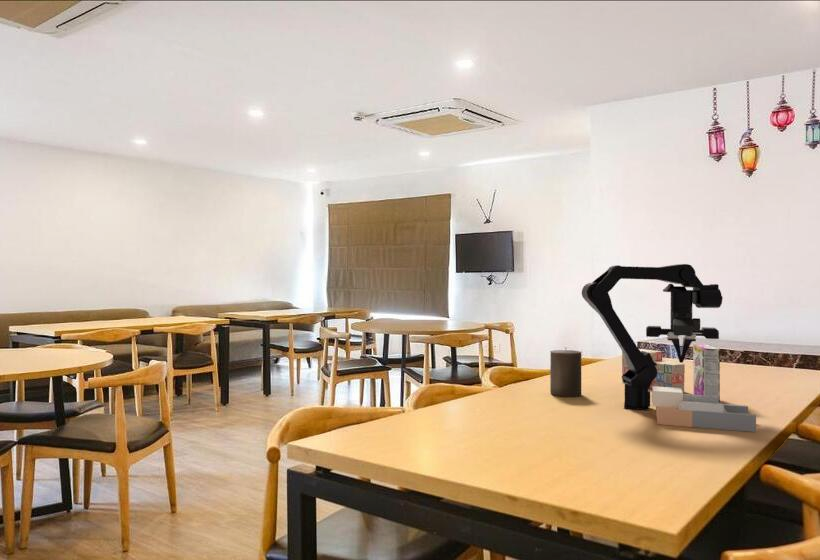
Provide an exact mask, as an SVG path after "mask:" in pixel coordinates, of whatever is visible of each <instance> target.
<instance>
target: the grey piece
mask: <svg viewBox="0 0 820 560" xmlns="http://www.w3.org/2000/svg"><path fill="white" fill-rule="evenodd" d="M722 404H723V405H724V413H717V412H703V411H689V410H679V408H670V407H656V406H655V416H656V417H655V418H656V422H657V425H661V424H662V425H666V426H676V427H687V428H700V429H701V428H702V429H710V430H711V429H713V430H727V431H737V432H753V433H756V432H757V415H756V414H754V413H749V406H748V405H745V404H743V405H742V404H731V403H730V404H729V403H722Z"/></svg>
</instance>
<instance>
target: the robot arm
mask: <svg viewBox="0 0 820 560" xmlns="http://www.w3.org/2000/svg"><path fill="white" fill-rule="evenodd" d="M621 279H624V280H650V281H652V280H657V281H661V282H664V283H669V284H667V286H666V287H664V288H663V289H662V291H663V292H664V293H670V328H662V327H661V325H647V326H646V329H645V332H646V333H645V336H646V337H647V338H649V337H650V338H659V337H660V336H667V337H666V338H667V341H670V342H672V344H673V346H674V349H675V352H676V356H677V358H678V363H682V364H684V361H685V357H686V355H687V352H688V350H689V348H690V346H691V344H692V343H693V342H697V339H696V337H704V338H705V339H706V340H720V331H719V330H718V328H716V327H706V326H705V327H704V326H703V327H701V318H700V317H699V318H695V317H694V318H693V305H694V306H695V307H696V308H698V309H719V308H721V306H722V304H723V295H722V292H721V289H720V288H719V284H718V283H717V284H716V283H713V284H712V283H710V284H703V282H702V281H701V280H700V279H699V277H697V275H696V271H695V268H694V267H693V266H692V265H691V264H688V263H680V264H677V263H676V264H672V265H671V264H670V265H665V266H663V265H662V266H656V267H655V266H629V265H628V266H625V265H624V266H623V265H622V266H621V265H611V266H610V267H608V269H606V271H604V272H603V273H601V275H599V276H598V277H597V278H596V279H594V280H593V281H592V282H587V283H585V284H584V286H583V287H582V288H581V296H582V299H584V301H586V303H587V304H588V305H589V307H591V309H593V310H594V311H595V312H596V313H597V314H598V315H599V316H600V318H601V320H602V321H603V323H604V324H605V326H606V328H607V329H608V331H609V332H610V334H611V336H612V337H613V339H614V340H615V342H616V344H617V345H618V347H619V349H620V350H621V352H622V351H623V353H624V355H625V359H626V363H627V366H628V368H629V370H628V371H627V372H626V373H625V374H621V380H623V383H622V384H624V402H623V408H624V409H628V410H629V409H631V410H632V409H633V410H644V411H645V410H649V408H650V407H651V391H650V390H649V388H650V385H651V383H652V381H653V380H654V379H655V378H656V376H657V373H658V372H657V368H656V367H655V366H657V364H656V363H655V362H654V361H653V359H652V357H651V355H650V353H648V352H645V351H640V350H639V349H640V348H639V347H638V346H637V345H636V343H635V341H634V340H633V338H632V336H631V335H630V333H629V331H628V330H627V328H626V327H625V326H624V324H623V322H622V320H621V319H620V317H619V316H618V314H617V313H616V311H615V310H614V308H613V304H612V299H611V296H610V294H609V292H610V291H611V290H612V289H613V288H614V287H615V286H616V285H617V283H618V282H619V281H620V280H621ZM676 285H677V286H676ZM678 285H680V286H678ZM687 288H691V289H687ZM679 336H683V338H682V339H683V340H682V346H680V345H681V344H680V338H679Z"/></svg>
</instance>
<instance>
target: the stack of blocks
mask: <svg viewBox="0 0 820 560" xmlns="http://www.w3.org/2000/svg"><path fill="white" fill-rule="evenodd" d="M638 349H639V350H640V351H645V352H648V353H650V355H651V357H652V359H653V361H654V362H655V363H656V364H657V366H655V367H656V368H657V372H658V373H657V376H656V378H655V379H654V380H653V381H652V383H651V385H650V388H648V390H652V386H657V387H674V388H681V390H682V392H683V393H684V392H685V373H686V371H685V368H686V365H685V363H680V362H673V361H668V360H663V351H661V350H659V351H658V350H654V349H653V350H651V349H644V348H638ZM621 366H622V367H621V369H622V371H621V372H622V374H621V375H623V374H625V373H626V372H627V371H628V370H629V368H628V366H627V363H626V359H625V355H624V353H623V351H622V350H621ZM621 380H622V379H621ZM621 382H622V384H624V383H623V380H622V381H621Z"/></svg>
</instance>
